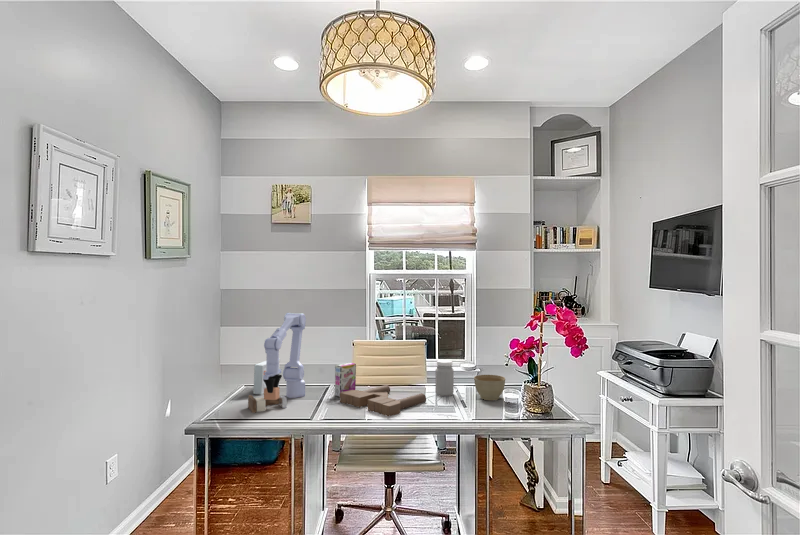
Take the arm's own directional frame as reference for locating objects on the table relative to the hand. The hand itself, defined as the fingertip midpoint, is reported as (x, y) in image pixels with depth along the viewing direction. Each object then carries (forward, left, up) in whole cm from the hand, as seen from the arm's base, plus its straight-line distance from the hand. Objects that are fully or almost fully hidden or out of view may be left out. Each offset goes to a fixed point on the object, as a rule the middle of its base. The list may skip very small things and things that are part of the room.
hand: (272, 391), depth 223 cm
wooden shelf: (+1, -1, -9) cm, 9 cm away
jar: (-88, +17, -9) cm, 90 cm away
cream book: (+6, 0, -8) cm, 10 cm away
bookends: (-52, +15, -9) cm, 56 cm away
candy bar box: (-41, -8, -9) cm, 43 cm away
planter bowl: (-104, +35, -9) cm, 110 cm away
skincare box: (-7, -39, -9) cm, 41 cm away
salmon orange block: (0, 0, -3) cm, 3 cm away
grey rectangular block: (-5, 0, -8) cm, 9 cm away
